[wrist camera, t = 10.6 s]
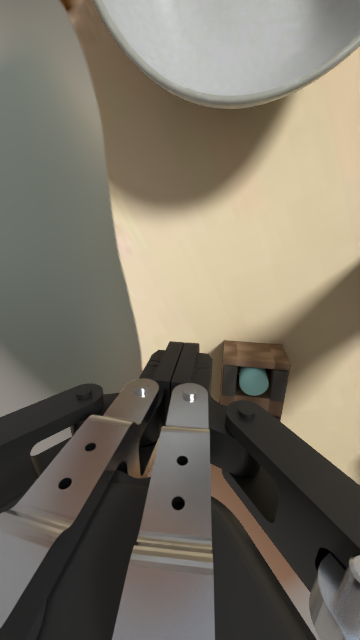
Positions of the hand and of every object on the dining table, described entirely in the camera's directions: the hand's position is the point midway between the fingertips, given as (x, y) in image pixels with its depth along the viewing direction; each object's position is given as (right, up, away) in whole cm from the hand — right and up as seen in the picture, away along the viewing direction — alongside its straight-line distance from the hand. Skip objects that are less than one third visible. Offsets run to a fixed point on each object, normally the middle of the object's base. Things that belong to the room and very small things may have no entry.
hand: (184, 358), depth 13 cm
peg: (+11, -5, +29) cm, 31 cm away
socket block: (+11, -9, +31) cm, 34 cm away
